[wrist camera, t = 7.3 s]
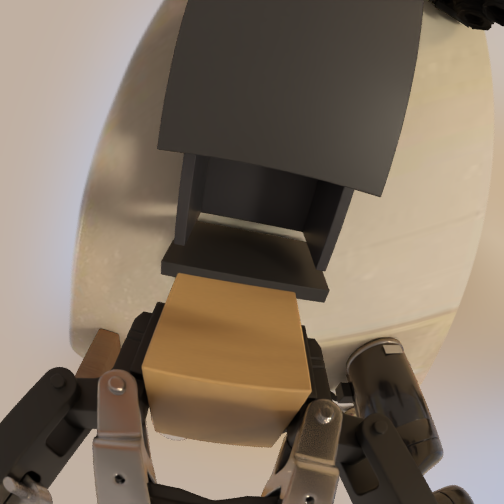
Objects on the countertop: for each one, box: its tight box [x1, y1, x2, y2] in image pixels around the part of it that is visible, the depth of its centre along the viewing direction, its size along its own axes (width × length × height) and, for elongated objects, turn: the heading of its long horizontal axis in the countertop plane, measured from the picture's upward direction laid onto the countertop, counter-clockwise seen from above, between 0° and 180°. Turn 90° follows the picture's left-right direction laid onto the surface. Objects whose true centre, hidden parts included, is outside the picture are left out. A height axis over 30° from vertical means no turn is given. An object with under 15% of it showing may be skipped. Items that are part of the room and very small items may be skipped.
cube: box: [141, 273, 312, 447], centre depth 9 cm, size 4×4×4 cm
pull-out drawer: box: [161, 153, 354, 302], centre depth 21 cm, size 19×13×8 cm, turn 168°
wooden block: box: [75, 329, 121, 378], centre depth 31 cm, size 7×3×15 cm, turn 167°
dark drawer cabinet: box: [157, 0, 424, 197], centre depth 16 cm, size 16×14×10 cm
